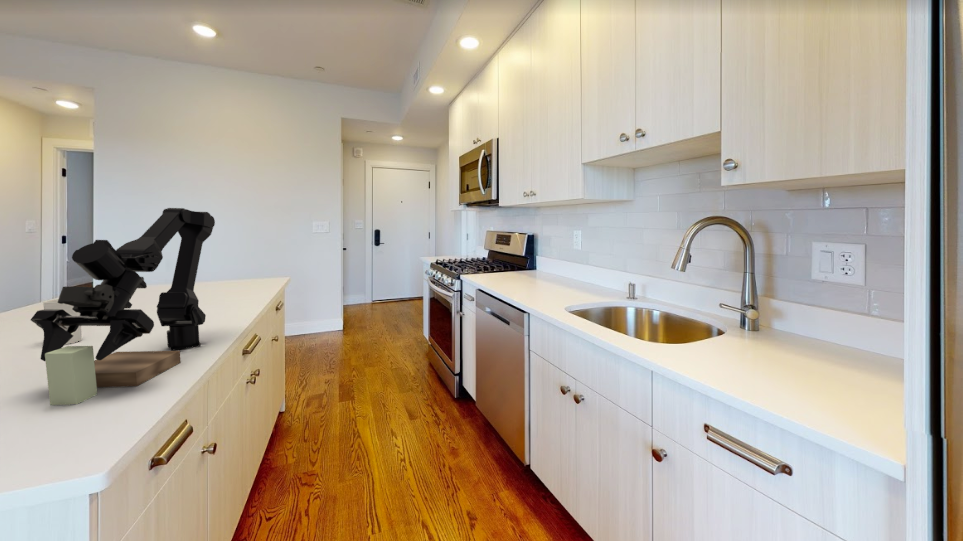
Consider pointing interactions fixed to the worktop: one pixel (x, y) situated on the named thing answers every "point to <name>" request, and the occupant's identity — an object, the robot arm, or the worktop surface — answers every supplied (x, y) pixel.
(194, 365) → the worktop surface
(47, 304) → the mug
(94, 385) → the block
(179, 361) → the base
